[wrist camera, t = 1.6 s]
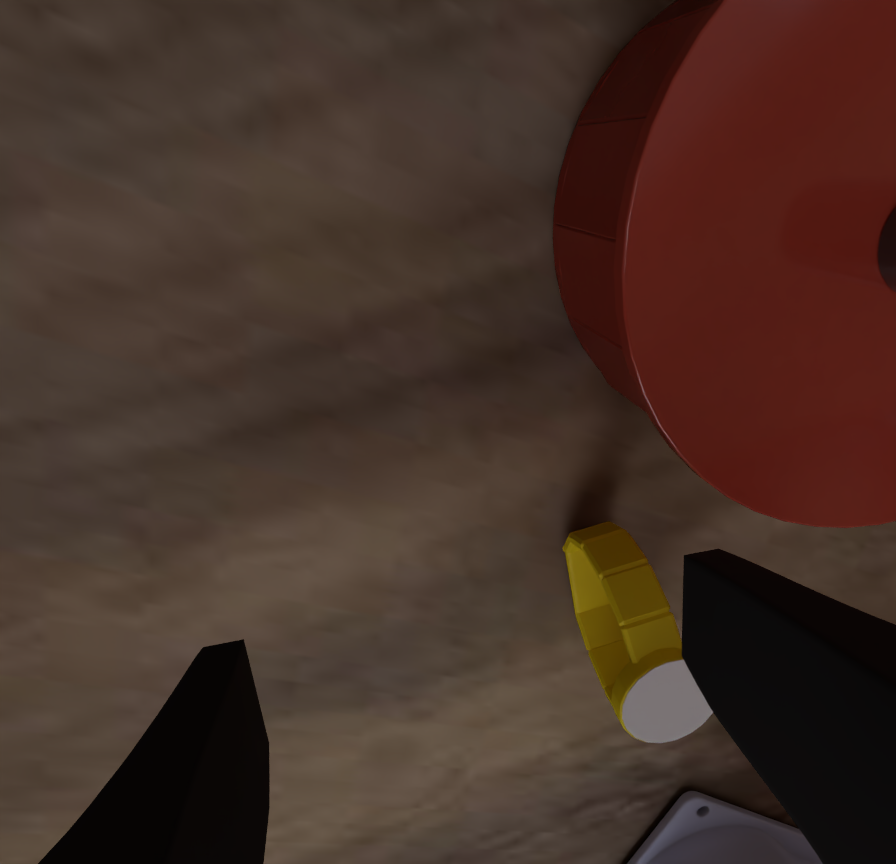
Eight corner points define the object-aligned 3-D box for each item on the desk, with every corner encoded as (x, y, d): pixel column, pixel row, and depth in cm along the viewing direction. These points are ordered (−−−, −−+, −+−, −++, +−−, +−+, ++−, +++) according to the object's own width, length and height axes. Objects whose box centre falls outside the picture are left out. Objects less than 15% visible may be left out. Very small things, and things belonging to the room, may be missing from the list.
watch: (532, 509, 23) (604, 621, 17) (615, 485, 23) (712, 587, 18) (562, 659, 25) (635, 799, 20) (638, 635, 25) (730, 767, 20)
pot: (1031, 29, 20) (1271, -12, 15) (865, 446, 24) (1012, 522, 19) (621, -100, 18) (749, -204, 12) (508, 398, 21) (570, 473, 16)
